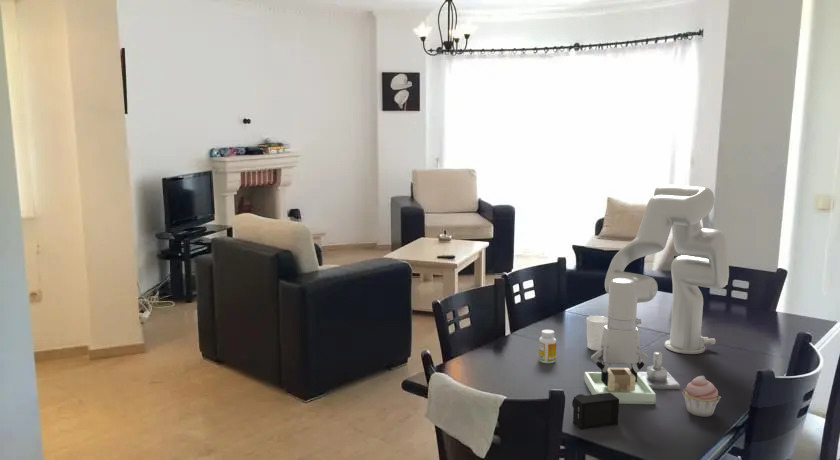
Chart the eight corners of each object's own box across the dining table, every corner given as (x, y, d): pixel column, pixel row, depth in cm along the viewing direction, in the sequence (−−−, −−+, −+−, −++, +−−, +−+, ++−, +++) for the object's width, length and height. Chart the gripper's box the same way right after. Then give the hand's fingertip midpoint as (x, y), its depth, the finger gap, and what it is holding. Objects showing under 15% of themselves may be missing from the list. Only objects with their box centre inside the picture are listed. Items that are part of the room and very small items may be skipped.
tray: (637, 381, 193) (638, 372, 193) (655, 403, 178) (655, 394, 177) (584, 381, 194) (584, 371, 193) (596, 403, 178) (597, 393, 178)
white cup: (610, 352, 218) (612, 323, 217) (586, 350, 220) (587, 321, 218) (608, 344, 226) (610, 316, 224) (585, 343, 227) (586, 315, 226)
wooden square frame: (603, 380, 189) (603, 367, 188) (627, 381, 189) (628, 367, 188) (610, 393, 181) (611, 379, 180) (636, 393, 180) (637, 379, 180)
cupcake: (727, 418, 169) (730, 381, 168) (695, 421, 167) (697, 384, 166) (704, 403, 178) (707, 367, 177) (673, 406, 176) (676, 370, 175)
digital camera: (606, 415, 171) (607, 390, 170) (618, 424, 166) (619, 398, 165) (570, 420, 168) (571, 394, 167) (580, 429, 163) (582, 403, 162)
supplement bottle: (556, 358, 212) (557, 329, 211) (554, 364, 207) (555, 334, 206) (540, 356, 214) (540, 328, 212) (537, 362, 209) (538, 333, 207)
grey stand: (667, 375, 198) (669, 347, 196) (679, 389, 188) (681, 359, 186) (634, 375, 198) (635, 347, 196) (644, 388, 188) (645, 359, 187)
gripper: (649, 319, 186) (645, 379, 189) (587, 318, 187) (584, 378, 189) (657, 327, 179) (654, 389, 182) (593, 327, 179) (590, 389, 182)
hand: (618, 383), depth 185 cm, fingers closed on wooden square frame, 6 cm apart
